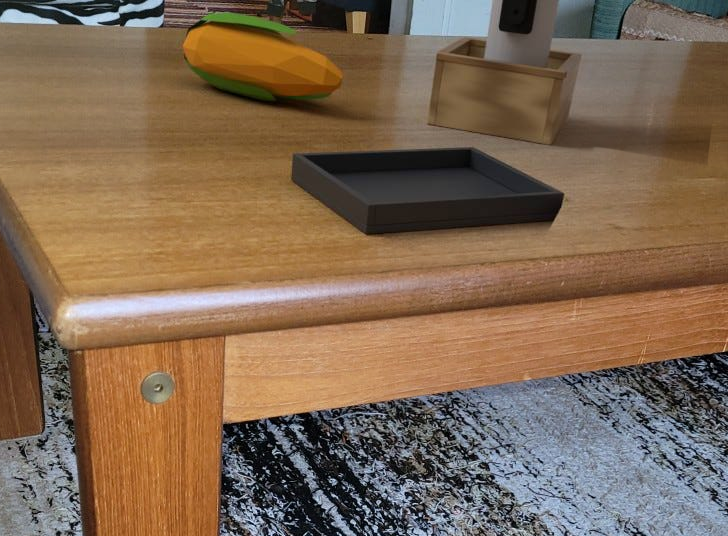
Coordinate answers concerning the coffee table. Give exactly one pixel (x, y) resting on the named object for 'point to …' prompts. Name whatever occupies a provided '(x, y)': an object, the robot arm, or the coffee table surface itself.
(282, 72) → the corn
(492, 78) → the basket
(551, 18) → the beverage can
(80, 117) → the coffee table surface
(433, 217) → the tray
